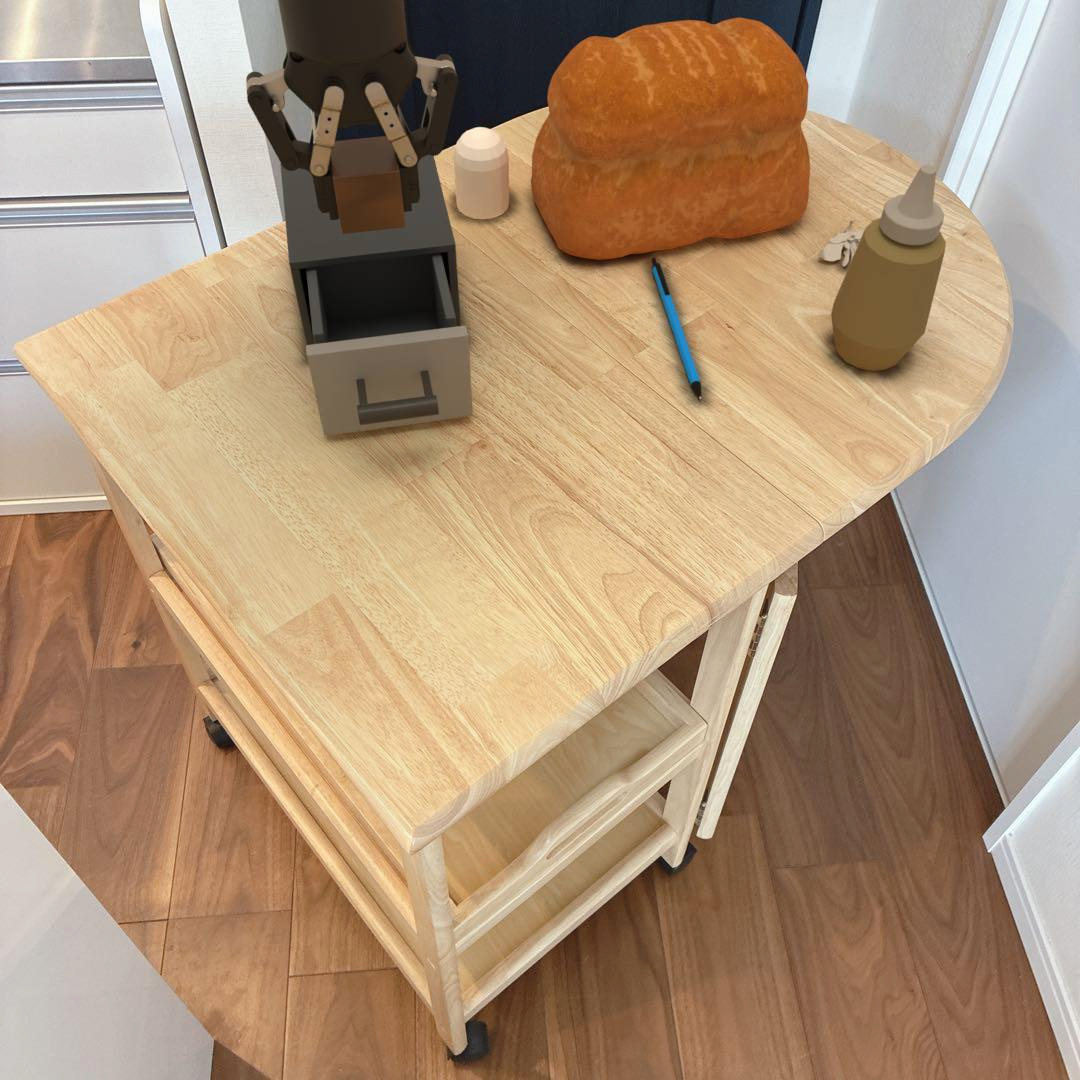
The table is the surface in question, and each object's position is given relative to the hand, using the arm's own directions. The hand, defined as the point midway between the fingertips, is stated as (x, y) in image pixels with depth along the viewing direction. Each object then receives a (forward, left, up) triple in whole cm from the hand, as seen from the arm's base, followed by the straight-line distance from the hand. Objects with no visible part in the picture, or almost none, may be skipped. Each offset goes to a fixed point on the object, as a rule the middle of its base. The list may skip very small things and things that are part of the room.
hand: (369, 208), depth 76 cm
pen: (+26, +4, -18) cm, 32 cm away
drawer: (0, 0, -17) cm, 17 cm away
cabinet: (0, +13, -18) cm, 22 cm away
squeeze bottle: (+42, -2, -18) cm, 46 cm away
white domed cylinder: (+12, +26, -18) cm, 34 cm away
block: (0, 0, 0) cm, 0 cm away
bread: (+30, +22, -18) cm, 41 cm away
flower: (+46, +10, -18) cm, 50 cm away
